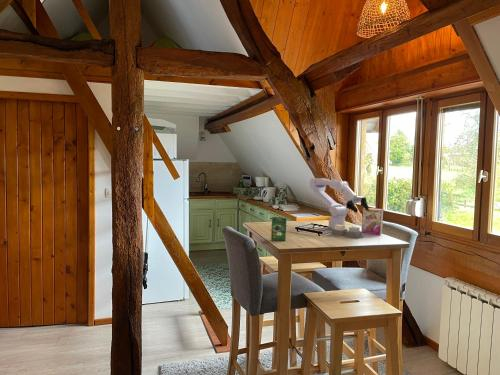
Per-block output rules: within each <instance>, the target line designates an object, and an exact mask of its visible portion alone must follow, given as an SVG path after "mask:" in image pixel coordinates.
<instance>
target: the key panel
mask: <svg viewBox="0 0 500 375" xmlns="http://www.w3.org/2000/svg"><path fill="white" fill-rule="evenodd" d="M329 236H335V237H341V238H342V237H343V238H348V239H353V240H359V239H363V238H365V236H364V235H363V233H362V230H360V231H359V232H358V233H354V232H349V228H348V229H347V228H345V230H342V231H341V230H334V229H331V233H329Z"/></svg>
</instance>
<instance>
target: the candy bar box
mask: <svg viewBox="0 0 500 375" xmlns="http://www.w3.org/2000/svg"><path fill="white" fill-rule="evenodd" d="M361 213H362V215H361V231H362V234H364V235H365V234H366V235H375V236H381V235H382V234H383V220H384V219H383V218H384V209H382V208H371V207H369V209H368V210H366V209H365V208H364V207H363V208H362V212H361Z"/></svg>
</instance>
